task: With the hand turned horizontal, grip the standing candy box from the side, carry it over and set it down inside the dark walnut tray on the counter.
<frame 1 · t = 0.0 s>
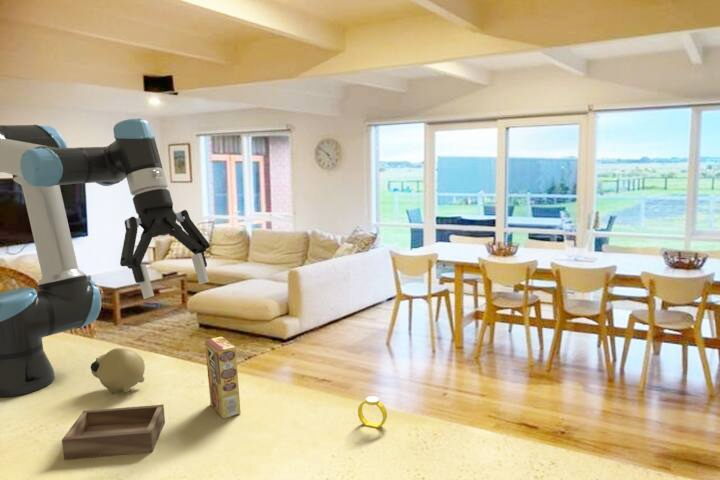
hand: (177, 290, 121), 28 cm above the kitchen counter, tool tilted 20°, fingers open, 13 cm apart
candy box: (224, 410, 128), on the kitchen counter
tray: (117, 439, 116), on the kitchen counter
round plush toy: (120, 390, 140), on the kitchen counter
gold gem ring: (372, 426, 119), on the kitchen counter
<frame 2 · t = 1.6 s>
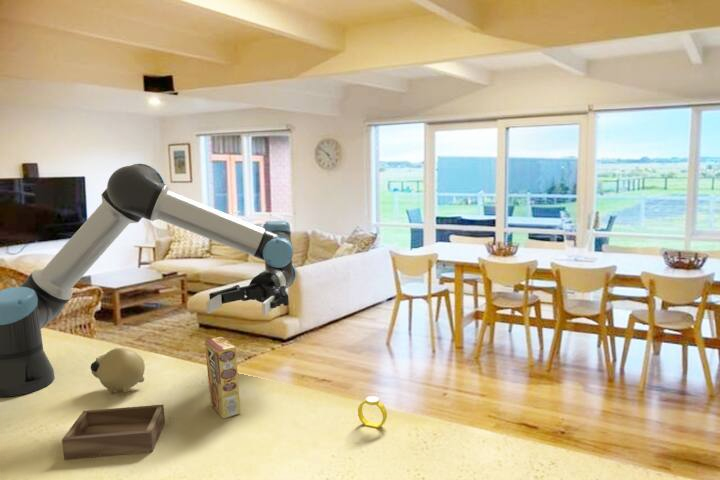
hand: (235, 308, 134), 20 cm above the kitchen counter, tool horizontal, fingers open, 13 cm apart
nothing on the kitchen counter moved.
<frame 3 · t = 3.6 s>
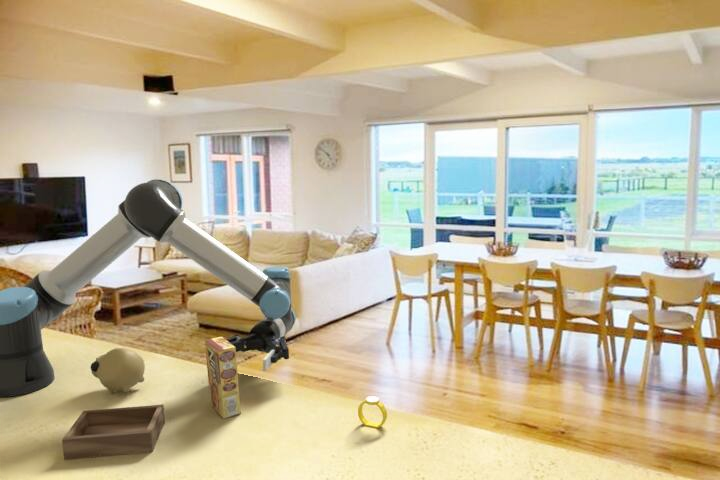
hand: (236, 364, 133), 8 cm above the kitchen counter, tool horizontal, fingers open, 13 cm apart
nothing on the kitchen counter moved.
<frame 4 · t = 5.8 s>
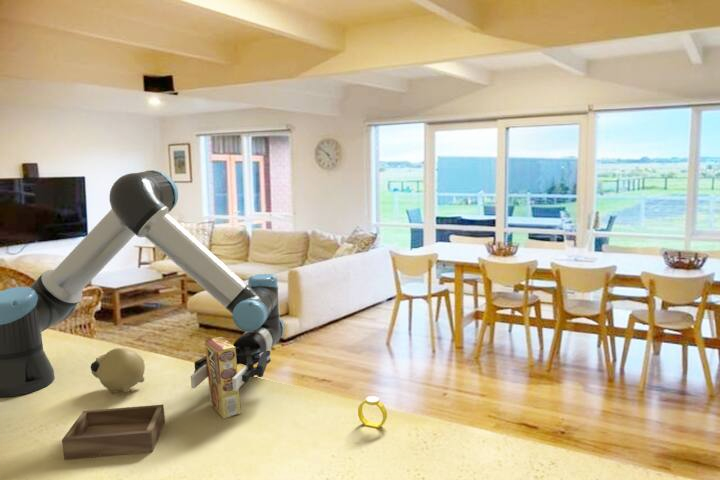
hand: (213, 383, 122), 8 cm above the kitchen counter, tool horizontal, fingers closed on candy box, 9 cm apart
candy box: (224, 410, 128), on the kitchen counter, touching gripper
everything else where it was.
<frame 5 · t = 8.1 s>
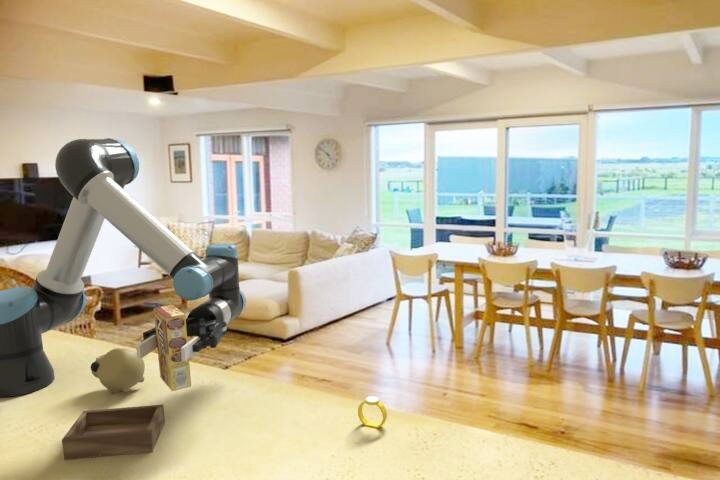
hand: (160, 353, 113), 18 cm above the kitchen counter, tool horizontal, fingers closed on candy box, 9 cm apart
candy box: (175, 383, 119), point 9 cm above the kitchen counter, touching gripper
everything else where it was.
when the fingers open (10 cm above the kitchen counter, at t = 10.7 s): candy box drops 1 cm, resting on tray.
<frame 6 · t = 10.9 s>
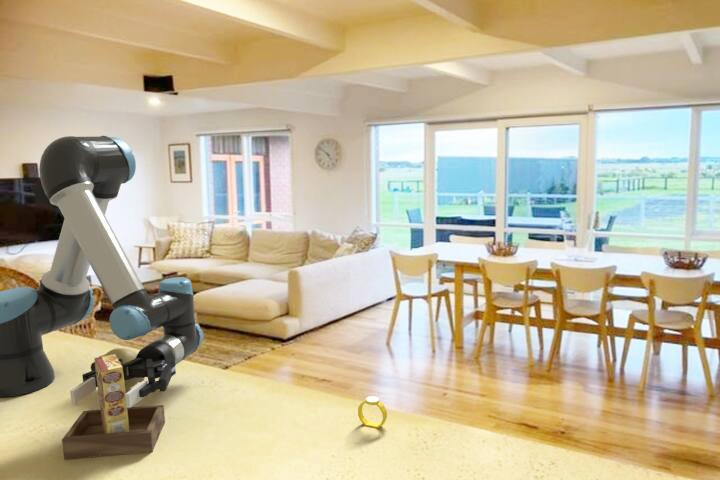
hand: (99, 399, 110), 10 cm above the kitchen counter, tool horizontal, fingers open, 11 cm apart
candy box: (115, 436, 116), point 1 cm above the kitchen counter, touching tray
everything else where it was.
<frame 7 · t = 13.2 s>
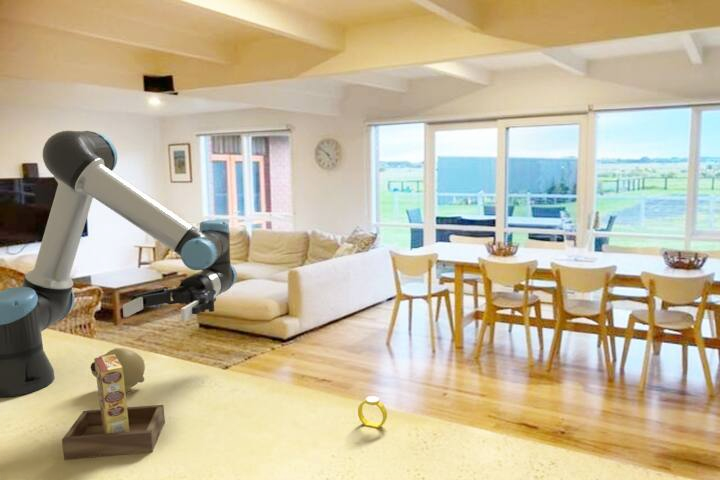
hand: (153, 313, 124), 23 cm above the kitchen counter, tool horizontal, fingers open, 13 cm apart
nothing on the kitchen counter moved.
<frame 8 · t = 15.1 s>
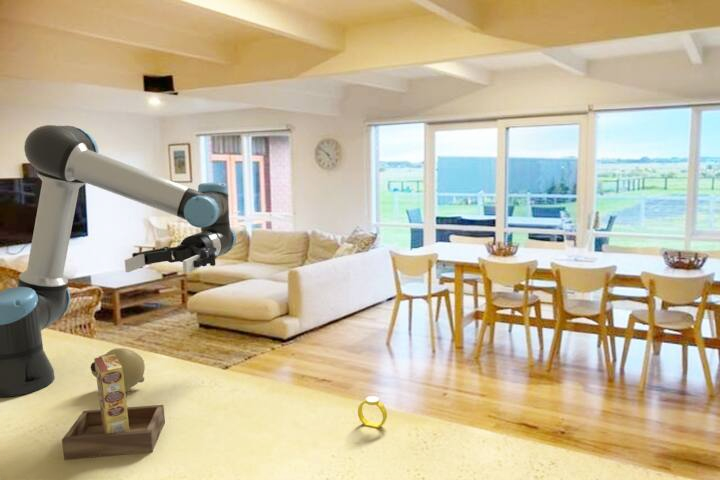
hand: (155, 266, 125), 32 cm above the kitchen counter, tool horizontal, fingers open, 13 cm apart
nothing on the kitchen counter moved.
at the end: candy box inside the target area on the tray (0.3 cm from its centre), point 0.8 cm above the tray's base; candy box tilted 0°; the gripper is holding nothing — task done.
